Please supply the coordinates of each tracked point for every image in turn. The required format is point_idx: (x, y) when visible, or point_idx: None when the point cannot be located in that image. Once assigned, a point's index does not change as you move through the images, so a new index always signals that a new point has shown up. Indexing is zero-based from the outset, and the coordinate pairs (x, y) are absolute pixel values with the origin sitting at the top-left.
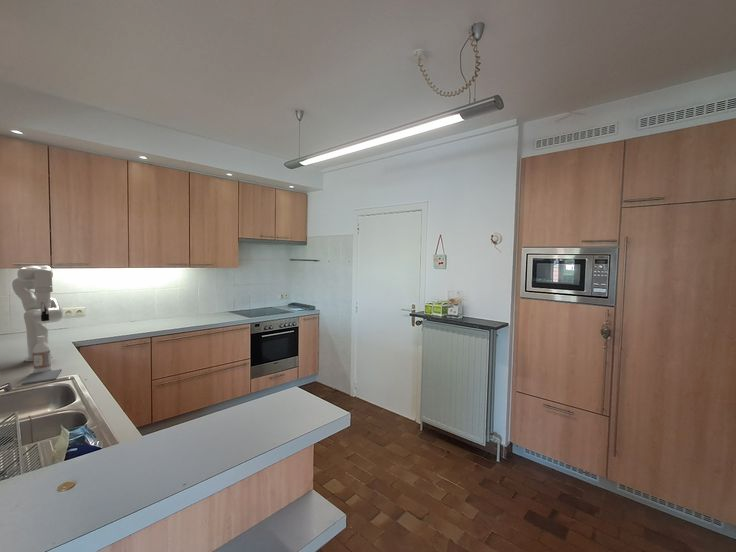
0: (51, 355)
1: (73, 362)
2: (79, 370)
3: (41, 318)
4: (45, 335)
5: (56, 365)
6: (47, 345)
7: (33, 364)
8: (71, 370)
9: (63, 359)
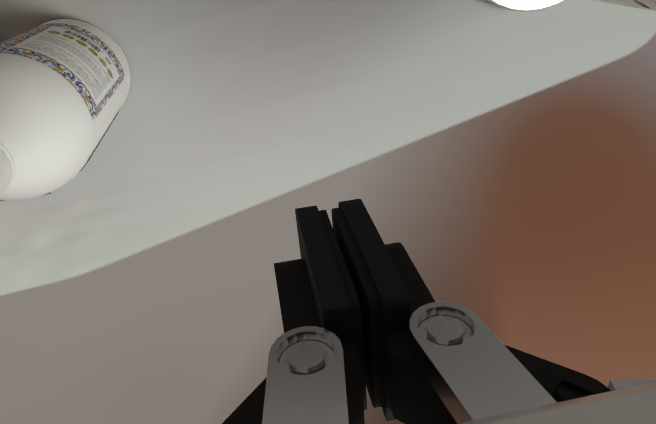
0: (527, 7)
1: (260, 198)
2: (21, 286)
3: (304, 245)
4: (642, 2)
5: (222, 116)
6: (6, 199)
7: (21, 33)
8: (36, 244)
9: (391, 111)
